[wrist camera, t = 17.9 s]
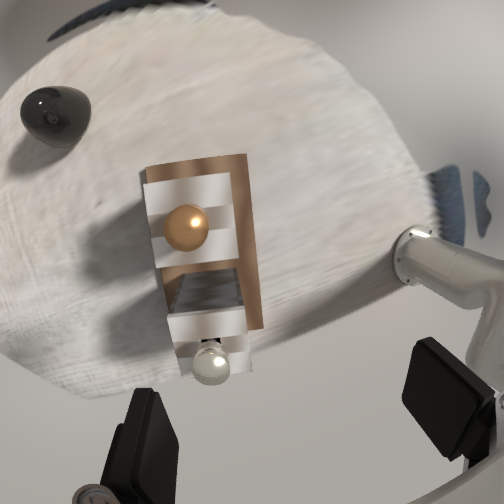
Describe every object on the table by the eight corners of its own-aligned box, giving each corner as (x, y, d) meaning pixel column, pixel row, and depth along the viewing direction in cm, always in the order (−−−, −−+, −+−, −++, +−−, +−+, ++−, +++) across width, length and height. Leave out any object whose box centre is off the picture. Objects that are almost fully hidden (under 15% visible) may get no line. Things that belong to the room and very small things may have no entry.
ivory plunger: (231, 275, 48) (240, 340, 28) (236, 313, 50) (247, 391, 30) (188, 280, 47) (171, 347, 28) (195, 318, 49) (185, 397, 29)
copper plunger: (220, 181, 44) (221, 183, 24) (225, 226, 46) (230, 263, 26) (175, 187, 43) (141, 195, 24) (181, 232, 45) (154, 272, 26)
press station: (245, 154, 45) (261, 140, 29) (262, 324, 53) (280, 384, 36) (147, 167, 44) (109, 162, 27) (176, 334, 52) (162, 396, 35)
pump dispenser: (81, 159, 42) (32, 155, 27) (43, 135, 40) (-7, 127, 25) (110, 107, 41) (71, 83, 26) (71, 86, 38) (27, 62, 24)
